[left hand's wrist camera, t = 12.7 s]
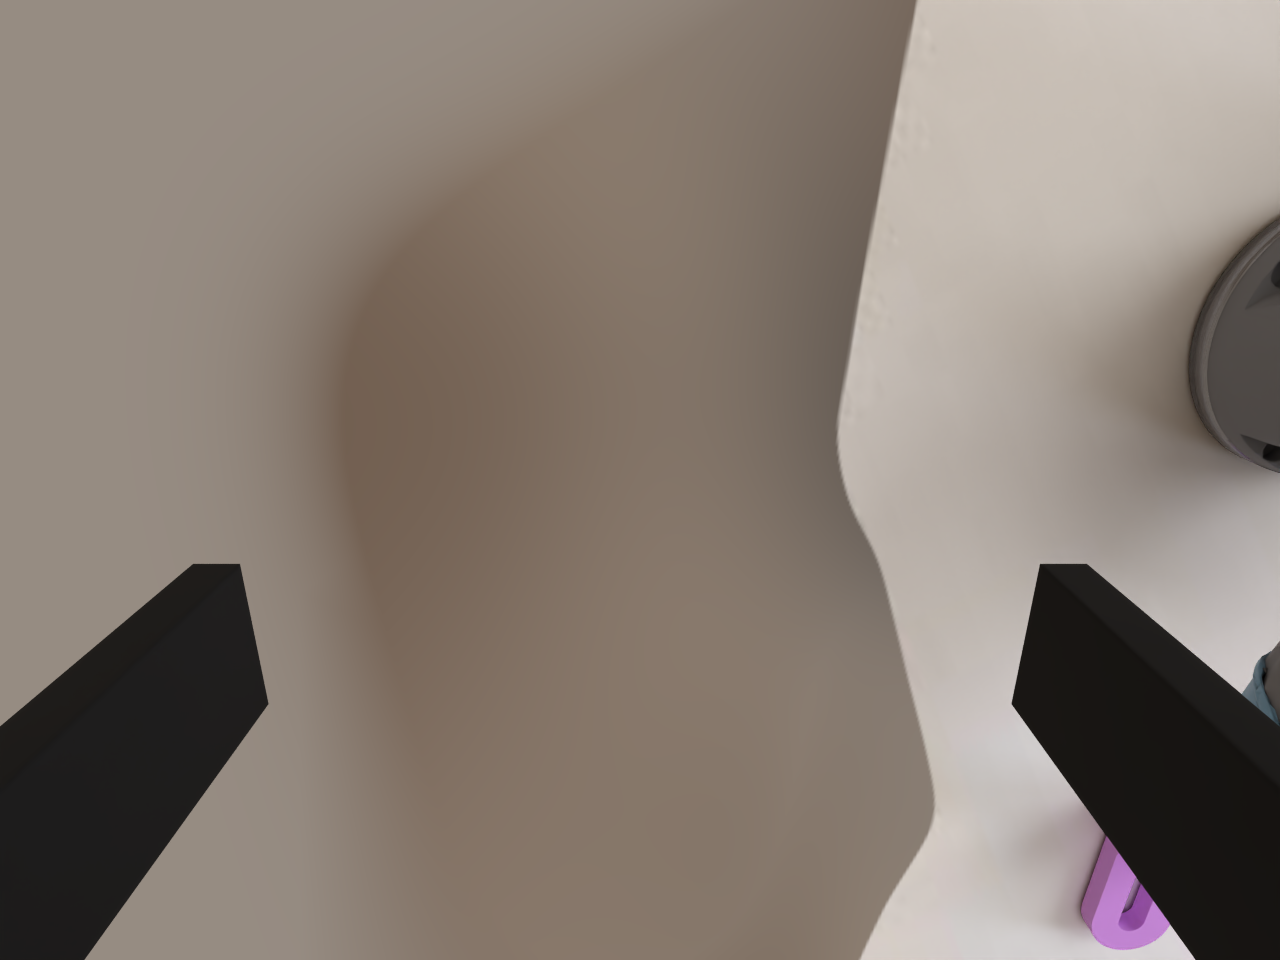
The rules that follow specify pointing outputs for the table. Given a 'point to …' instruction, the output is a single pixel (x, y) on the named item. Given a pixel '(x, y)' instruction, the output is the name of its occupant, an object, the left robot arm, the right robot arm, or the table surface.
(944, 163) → the table surface
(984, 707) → the table surface
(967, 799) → the table surface
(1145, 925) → the bracket
